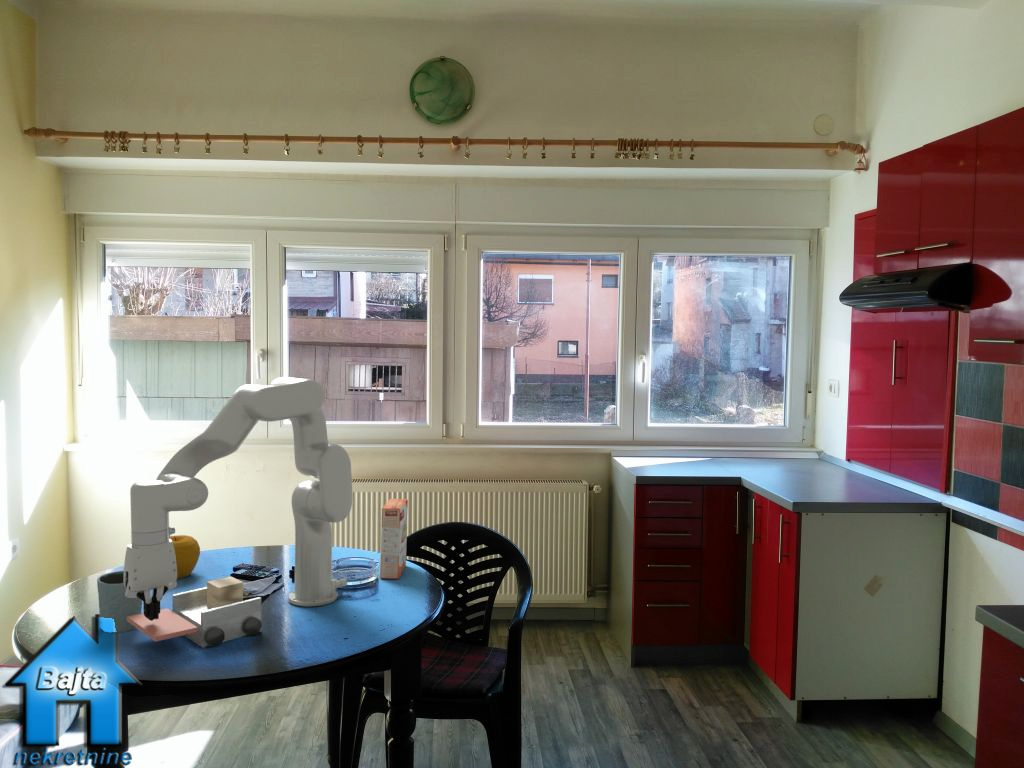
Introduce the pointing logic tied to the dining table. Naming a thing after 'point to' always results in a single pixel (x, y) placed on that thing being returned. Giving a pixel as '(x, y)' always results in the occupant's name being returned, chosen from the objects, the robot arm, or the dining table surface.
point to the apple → (185, 554)
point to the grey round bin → (117, 601)
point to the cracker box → (393, 538)
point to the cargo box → (224, 592)
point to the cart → (217, 617)
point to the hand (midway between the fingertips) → (152, 618)
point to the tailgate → (162, 625)
